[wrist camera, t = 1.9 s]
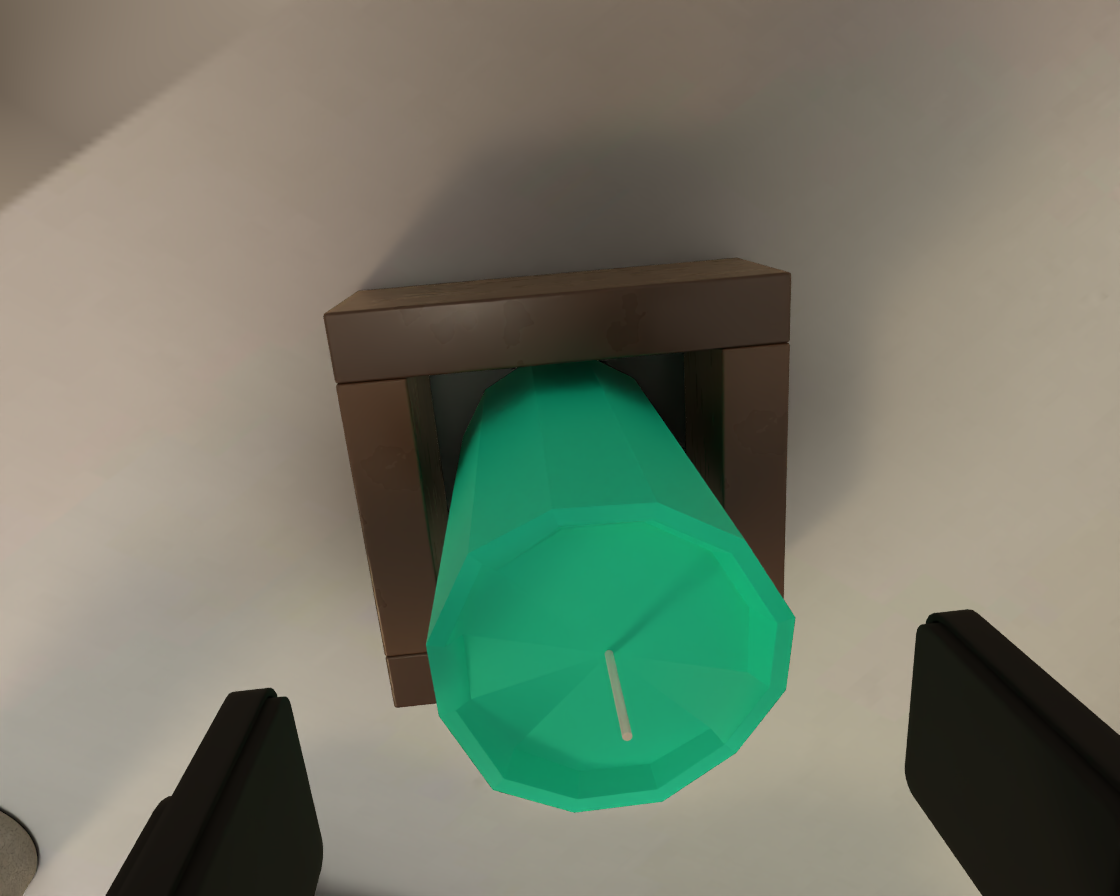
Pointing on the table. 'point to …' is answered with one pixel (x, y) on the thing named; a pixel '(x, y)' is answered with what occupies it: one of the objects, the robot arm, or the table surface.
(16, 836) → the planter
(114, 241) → the table surface
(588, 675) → the candle
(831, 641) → the table surface
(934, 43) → the table surface
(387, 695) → the table surface
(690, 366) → the holder
